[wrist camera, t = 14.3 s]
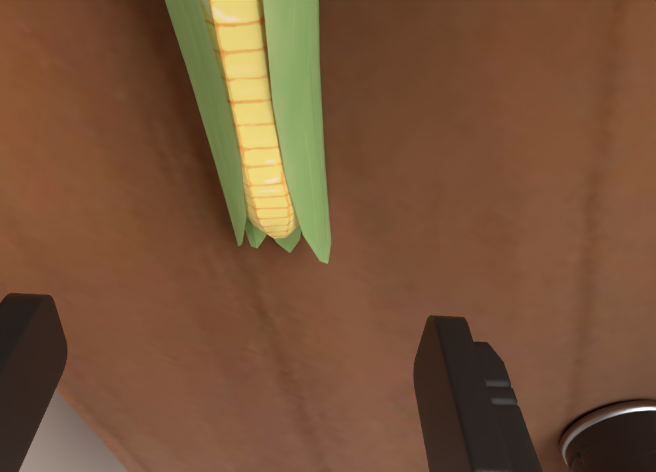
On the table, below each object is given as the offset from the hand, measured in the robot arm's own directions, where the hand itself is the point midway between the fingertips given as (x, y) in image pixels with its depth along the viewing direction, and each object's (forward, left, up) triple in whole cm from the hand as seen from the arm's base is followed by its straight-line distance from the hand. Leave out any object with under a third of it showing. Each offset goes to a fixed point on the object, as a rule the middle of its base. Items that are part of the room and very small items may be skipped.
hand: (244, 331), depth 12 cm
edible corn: (0, 0, -14) cm, 14 cm away
